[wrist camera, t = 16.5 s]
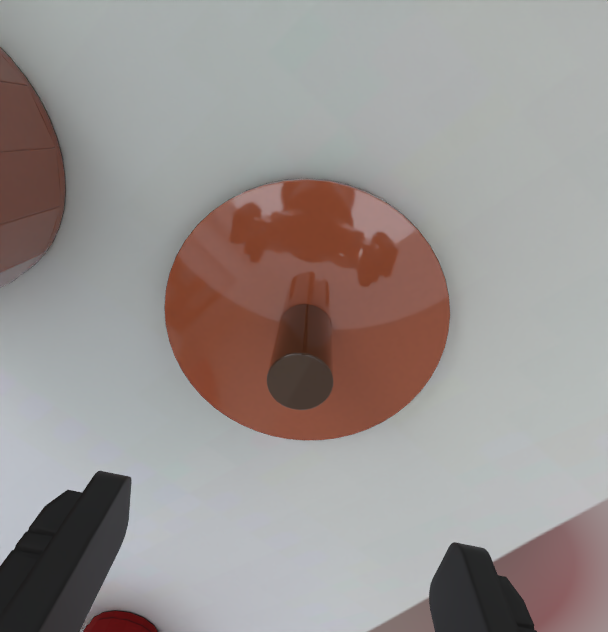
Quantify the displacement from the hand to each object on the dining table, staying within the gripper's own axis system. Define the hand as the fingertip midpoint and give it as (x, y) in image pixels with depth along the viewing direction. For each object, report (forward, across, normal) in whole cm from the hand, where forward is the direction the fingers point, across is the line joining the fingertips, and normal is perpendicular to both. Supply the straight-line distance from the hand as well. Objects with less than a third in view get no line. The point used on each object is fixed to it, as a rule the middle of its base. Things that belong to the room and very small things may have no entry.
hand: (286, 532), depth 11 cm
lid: (+12, 0, 0) cm, 12 cm away
